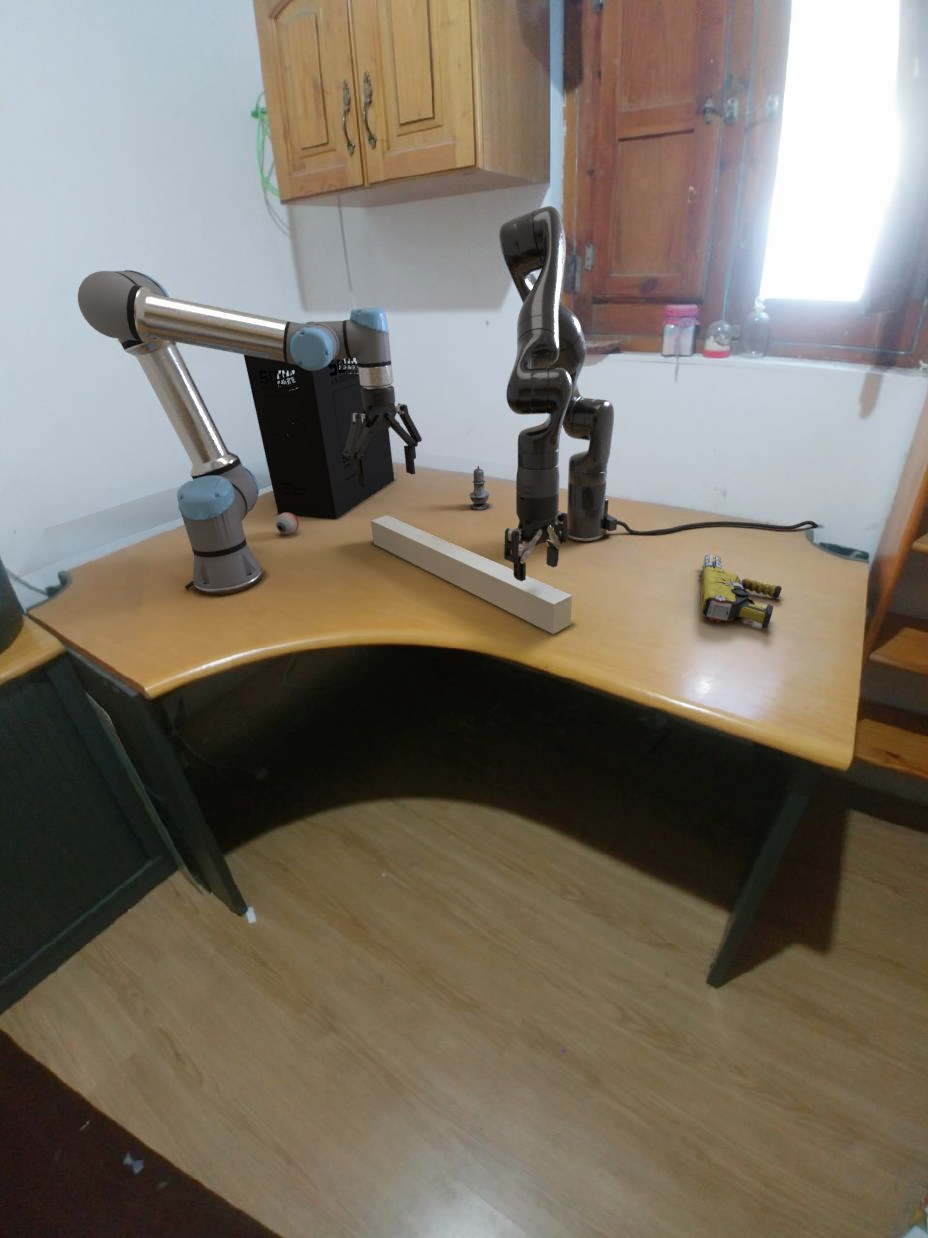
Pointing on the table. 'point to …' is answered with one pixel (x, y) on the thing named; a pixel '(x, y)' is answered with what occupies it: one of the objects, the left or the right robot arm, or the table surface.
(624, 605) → the table surface
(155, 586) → the table surface
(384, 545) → the bar
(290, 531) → the eyeball
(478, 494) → the salt shaker
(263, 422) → the cardboard box
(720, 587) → the toy gun
